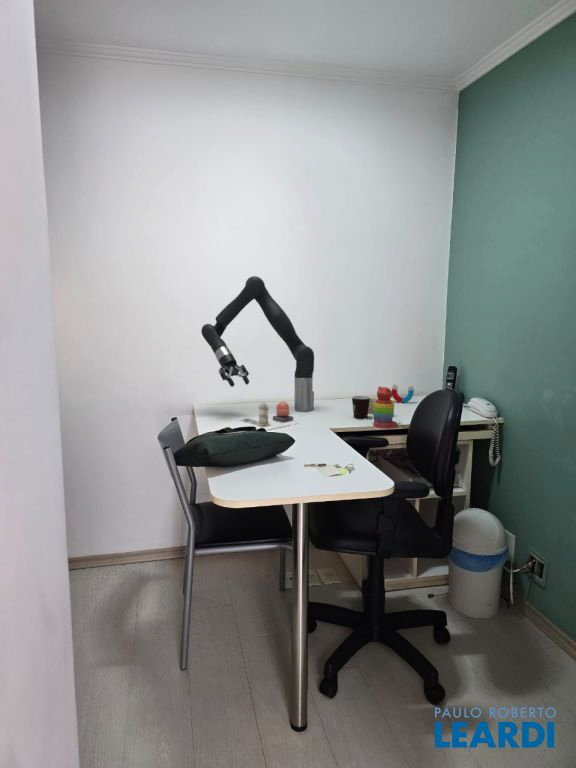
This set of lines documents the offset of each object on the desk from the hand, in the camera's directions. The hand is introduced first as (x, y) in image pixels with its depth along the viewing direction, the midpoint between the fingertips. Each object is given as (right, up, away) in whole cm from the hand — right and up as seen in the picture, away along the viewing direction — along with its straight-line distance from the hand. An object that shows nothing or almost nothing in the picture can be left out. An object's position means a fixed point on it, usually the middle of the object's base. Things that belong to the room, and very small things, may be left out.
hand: (240, 384), depth 261 cm
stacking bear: (+66, -19, -6) cm, 69 cm away
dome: (+20, -14, -1) cm, 24 cm away
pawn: (+11, -18, -9) cm, 23 cm away
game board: (+11, -18, -3) cm, 21 cm away
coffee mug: (+58, -16, +11) cm, 61 cm away
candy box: (+67, -15, +16) cm, 71 cm away
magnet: (+85, -10, +45) cm, 97 cm away
